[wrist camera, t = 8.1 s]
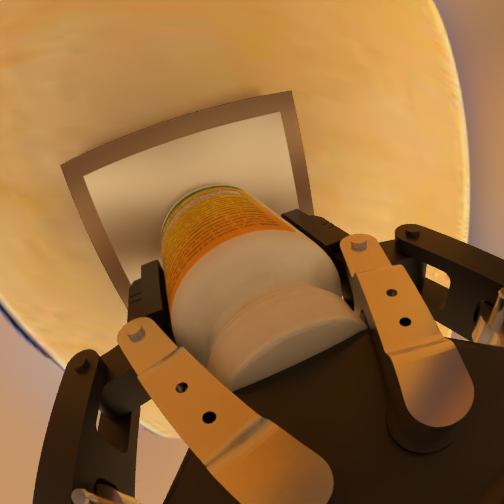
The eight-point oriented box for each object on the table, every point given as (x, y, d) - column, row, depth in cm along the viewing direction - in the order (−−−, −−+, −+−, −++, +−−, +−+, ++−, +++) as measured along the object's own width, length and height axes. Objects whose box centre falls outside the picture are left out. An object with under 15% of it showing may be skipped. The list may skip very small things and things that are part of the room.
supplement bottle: (283, 215, 15) (423, 324, 7) (228, 296, 16) (308, 445, 8) (196, 159, 12) (297, 242, 4) (140, 257, 13) (152, 438, 5)
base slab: (79, 155, 14) (58, 165, 11) (263, 95, 17) (293, 90, 13) (148, 311, 20) (151, 350, 17) (295, 254, 22) (324, 281, 19)
